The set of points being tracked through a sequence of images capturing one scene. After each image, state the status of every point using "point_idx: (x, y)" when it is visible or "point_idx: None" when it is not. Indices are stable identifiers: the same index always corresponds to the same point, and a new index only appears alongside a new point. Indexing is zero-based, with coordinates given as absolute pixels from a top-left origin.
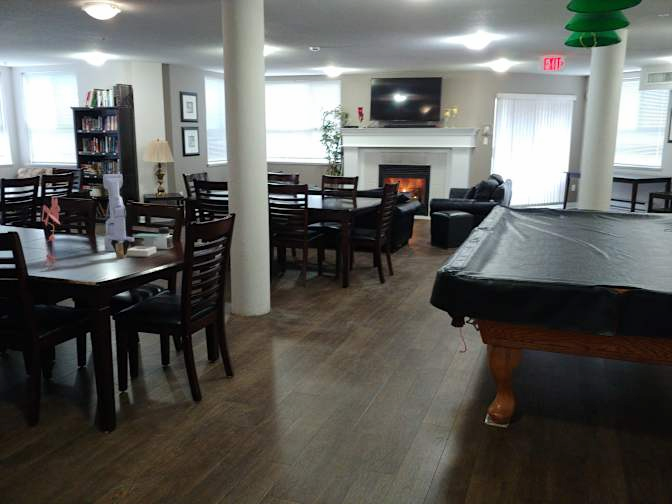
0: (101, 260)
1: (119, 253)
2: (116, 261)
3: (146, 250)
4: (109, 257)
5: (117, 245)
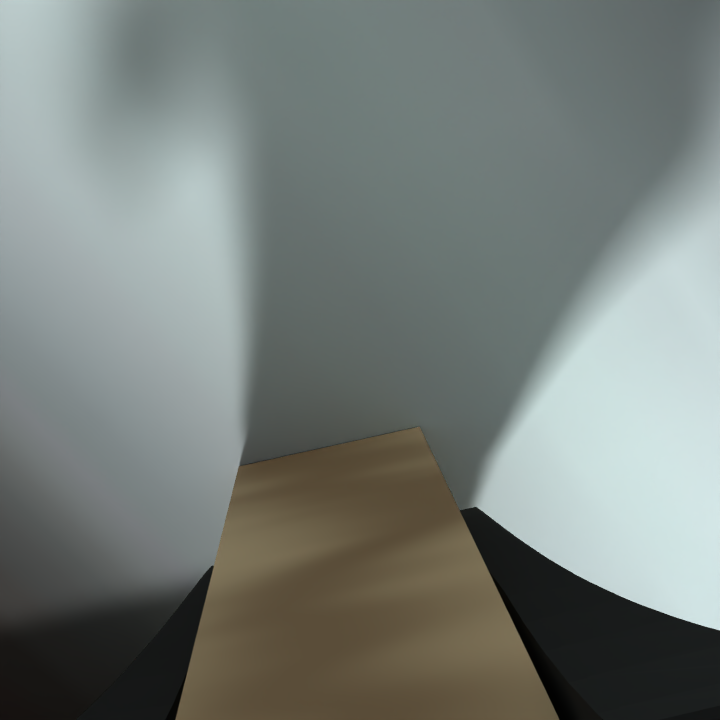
0: (625, 68)
1: (340, 506)
2: (157, 98)
3: None
4: (633, 448)
5: (437, 684)
